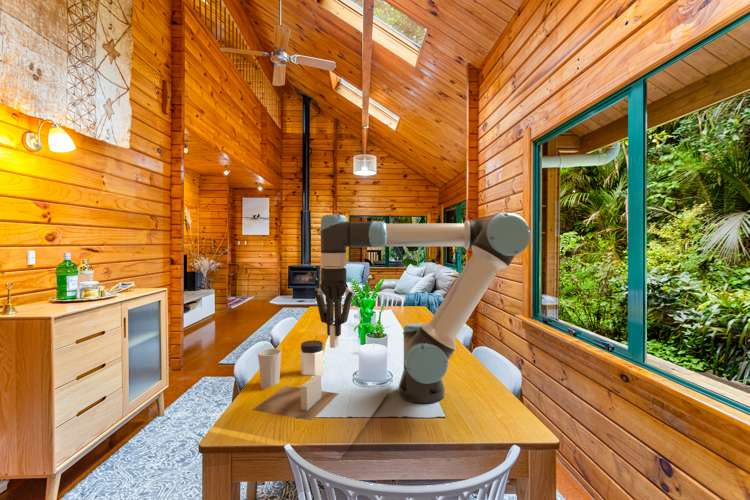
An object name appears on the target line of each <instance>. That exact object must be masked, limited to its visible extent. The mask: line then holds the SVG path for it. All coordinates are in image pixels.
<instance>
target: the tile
mask: <svg viewBox="0 0 750 500" xmlns="http://www.w3.org/2000/svg"><path fill="white" fill-rule="evenodd" d="M300 388H301V410H306V411H307V410H308V409H309V408H311V407H312V406H313V405H314V404H315V403H316V402H317V401H318V400H319V399H320V398H321V391H322V376H319V375H315V376H311V378H310V379H308V380H307V381H305V382H304V383H303V384H301V385H300Z"/></svg>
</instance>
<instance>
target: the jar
mask: <svg viewBox="0 0 750 500" xmlns="http://www.w3.org/2000/svg"><path fill="white" fill-rule="evenodd" d="M323 345H324V343H323V341H321V340H313V339H312V340H306V341H303V342H301V343H300V373H301V375H302V376H311V377H314V376H315V375H319V376H321V377H322V376H324V373H325V368H324V365H325V364H324V363H325V362H324V361H325V360H324V349H323V347H324V346H323Z"/></svg>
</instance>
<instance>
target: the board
mask: <svg viewBox="0 0 750 500" xmlns="http://www.w3.org/2000/svg"><path fill="white" fill-rule="evenodd" d="M338 395H339V393H338V392H337V393H336V392H330V391H325V390H324V391H323V390H321V398H320V399H319V400H318V401H317V402H316V403H315V404H314V405H313V406H312V407H311V408H309V409H308V410H307V411H306V410H301V387H296V386H290V385H285V386H284V387H282V388H281V389H278V391H276V392H274V393H273V394H272V395H271V396H269V397H268V398H266V399H264V401H262V402H260V403H259V404H257V405H256V406H254V407H253V408H251V410H252V411H256V412H262V413H268V414H273V415H278V416H279V415H280V416H284V417H291V418H296V419H301V420H307V421H313V420H314V419H315V418H316V417H317V416H318V415H319V413H321V412H322V411H323V410H324V409H325V408H326V406H328V405H329V404H330V403H331V402H332V401H333V400H334V399H335V398H336V397H337V396H338Z"/></svg>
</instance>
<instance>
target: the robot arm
mask: <svg viewBox="0 0 750 500" xmlns="http://www.w3.org/2000/svg"><path fill="white" fill-rule="evenodd" d="M319 232H320V266H321V267H322V268H321V269H320V281H321V283H320V285H319V287H318V288H317V289H314V290H312V294H313V295H314V297H315V300H316V304H317V309H318V314H319V317H320V318H319V319H320V321H321V323H324V324H326V326H327V327H326V333H327V336H328V337H329V348H331V349H336V348H337V347H338V346H339V337H340V336H341V335H342V325H344V324H346V323H347V322H348V318H349V313H350V308H351V304H352V299H353V298H354V296H355V295H356V292H355V290H351V289H350V288H349V286H348V284H347V283H348V282H347V268H346V266H347V248H375V249H376V248H384V247H459V248H460V247H462V248H464V249H465V250H466V251H467V250H468V251H469V250H471V251H472V254H471V256H470V258H469V259H468V260H467V262H466V264H465V265H464V267H463V269H462V270H461V272H460V273H459V275H458V277H457V278H456V280H455V282H454V283H453V285H451V288H450V289H449V291H448V292H447V294H446V296H445V297H444V299H443V301H442V302H441V304H440V305H439V307H438V308H437V310H436V311H435V313H434V315H433V317H432V318H431V320H430V321H429V322H428V323H407V324H405V325H404V326H403V331H402V334H403V371H402V374H401V377H400V379H399V383H398V395H399V396H400V397H401V398H402V399H404V400H406V401H408V402H412V403H416V404H417V403H418V404H431V403H432V404H433V403H436V402H440V401H441V400H442V399H443V398H444V397H445V393H446V390H445V386H444V384H445V383H444V382H443V377H445V375H446V374H447V371H448V367H449V360H450V358H451V356H452V355H453V353H454V351H455V350H456V349H457V347H456V339H457V337H458V335H459V333H460V332H461V331H462V329H463V327H464V326H465V325H466V323H467V321H468V320H469V319H470V317H471V315H472V313H473V312H474V310H475V309H476V307H477V305H478V304H479V302H480V301H481V300H482V298H483V296H484V295H485V294H486V291H487V290H488V289H489V287H490V285H491V284H492V282H493V280H494V279H495V278H496V276H497V274H498V272H500V270H502V269H508V267H509V266H510V264H511V263H512V261H513V260H514V258H515V257H516V256H517V255H519V254H521V253H522V252H524V251H525V250H526V249H527V247H528V246H529V244H530V241H531V235H532V234H531V230H530V226H529V224H528V223H527V221H526V220H525V219H524V218H523V217H522V216H520V215H518V214H516V213H513V212H512V213H511V212H501V213H498V214H495V215H491V216H488V217H484V218H477V219H467V220H465V221H464V222H461V223H458V222H456V223H454V222H453V223H452V222H451V223H449V222H448V223H447V222H446V223H445V222H444V223H443V222H442V223H441V222H439V223H438V222H437V223H435V222H434V223H426V222H425V223H386V222H384V221H378V220H377V221H375V220H372V221H348V220H347V217H346V215H344V214H325V215H322V216H321V219H320V231H319ZM344 295H345V298H344V301H343V296H344ZM324 297H325V298H324ZM342 301H343V306H342Z"/></svg>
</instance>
